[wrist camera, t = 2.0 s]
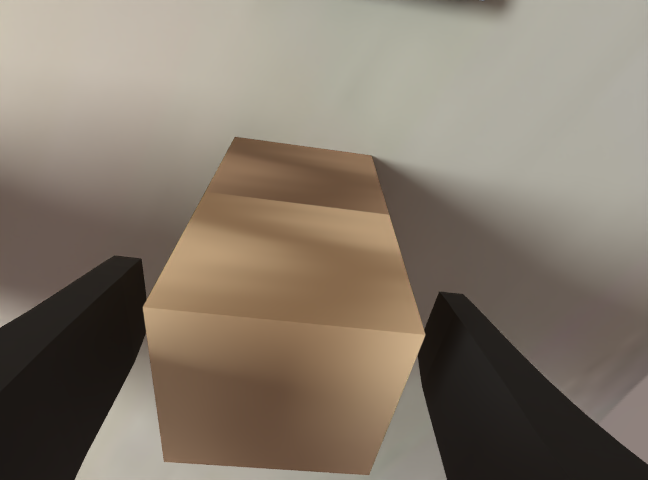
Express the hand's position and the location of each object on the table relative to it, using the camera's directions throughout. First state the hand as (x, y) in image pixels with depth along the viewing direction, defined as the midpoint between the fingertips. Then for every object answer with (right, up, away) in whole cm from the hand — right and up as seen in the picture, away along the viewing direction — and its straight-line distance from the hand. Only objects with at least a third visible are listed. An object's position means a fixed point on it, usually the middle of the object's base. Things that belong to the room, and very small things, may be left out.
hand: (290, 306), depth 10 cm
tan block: (0, +3, +4) cm, 5 cm away
